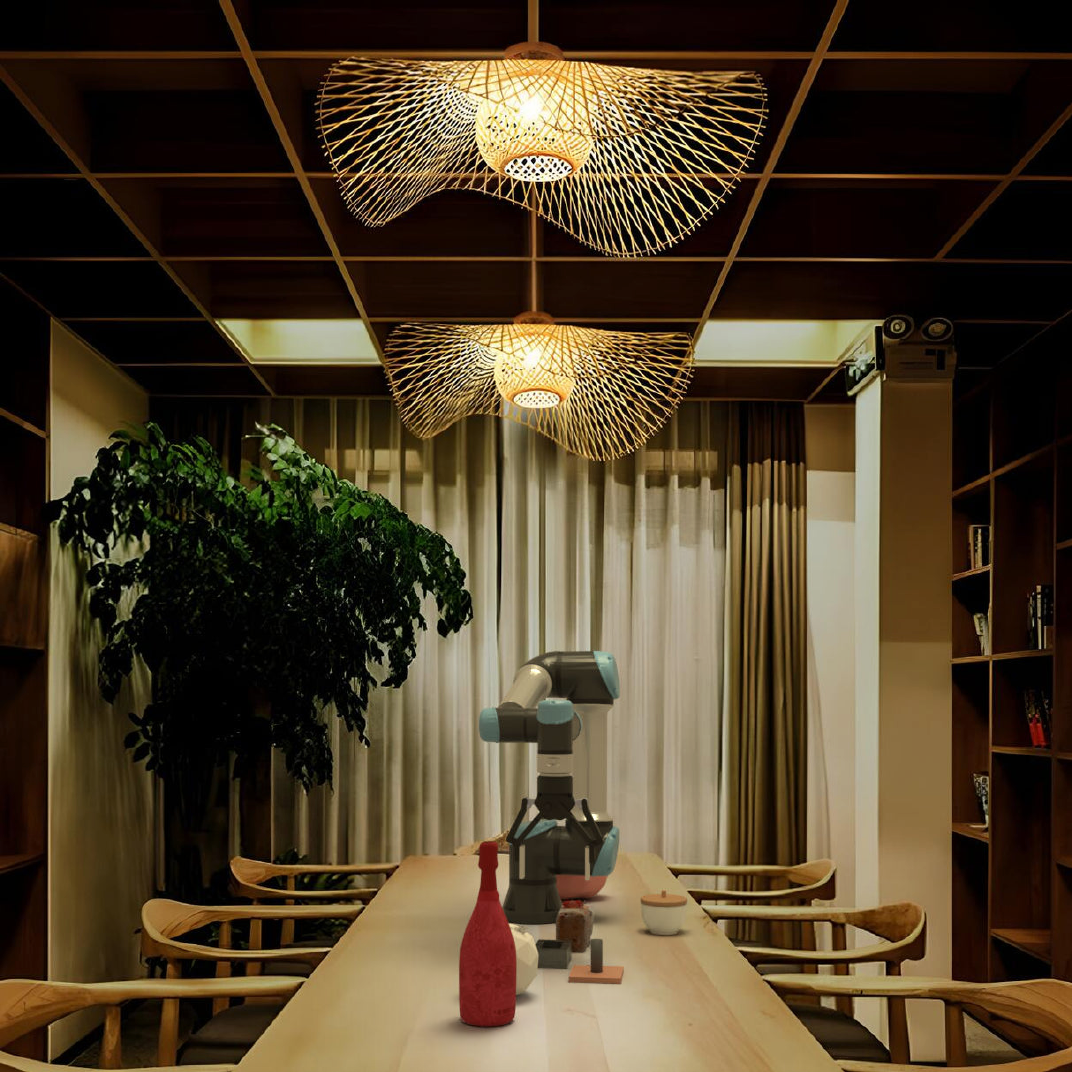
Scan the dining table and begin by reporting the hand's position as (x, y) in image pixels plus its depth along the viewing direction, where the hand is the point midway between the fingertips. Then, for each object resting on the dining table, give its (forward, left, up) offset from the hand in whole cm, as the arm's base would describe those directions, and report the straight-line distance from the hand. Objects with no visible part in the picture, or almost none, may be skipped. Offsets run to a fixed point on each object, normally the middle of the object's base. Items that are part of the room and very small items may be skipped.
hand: (554, 878), depth 259 cm
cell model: (-74, -3, -17) cm, 76 cm away
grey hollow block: (0, 0, -17) cm, 17 cm away
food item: (-17, +3, -17) cm, 24 cm away
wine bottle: (+45, -6, -17) cm, 49 cm away
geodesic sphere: (+28, -6, -17) cm, 33 cm away
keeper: (+11, +10, -17) cm, 22 cm away
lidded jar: (-34, +22, -17) cm, 44 cm away
